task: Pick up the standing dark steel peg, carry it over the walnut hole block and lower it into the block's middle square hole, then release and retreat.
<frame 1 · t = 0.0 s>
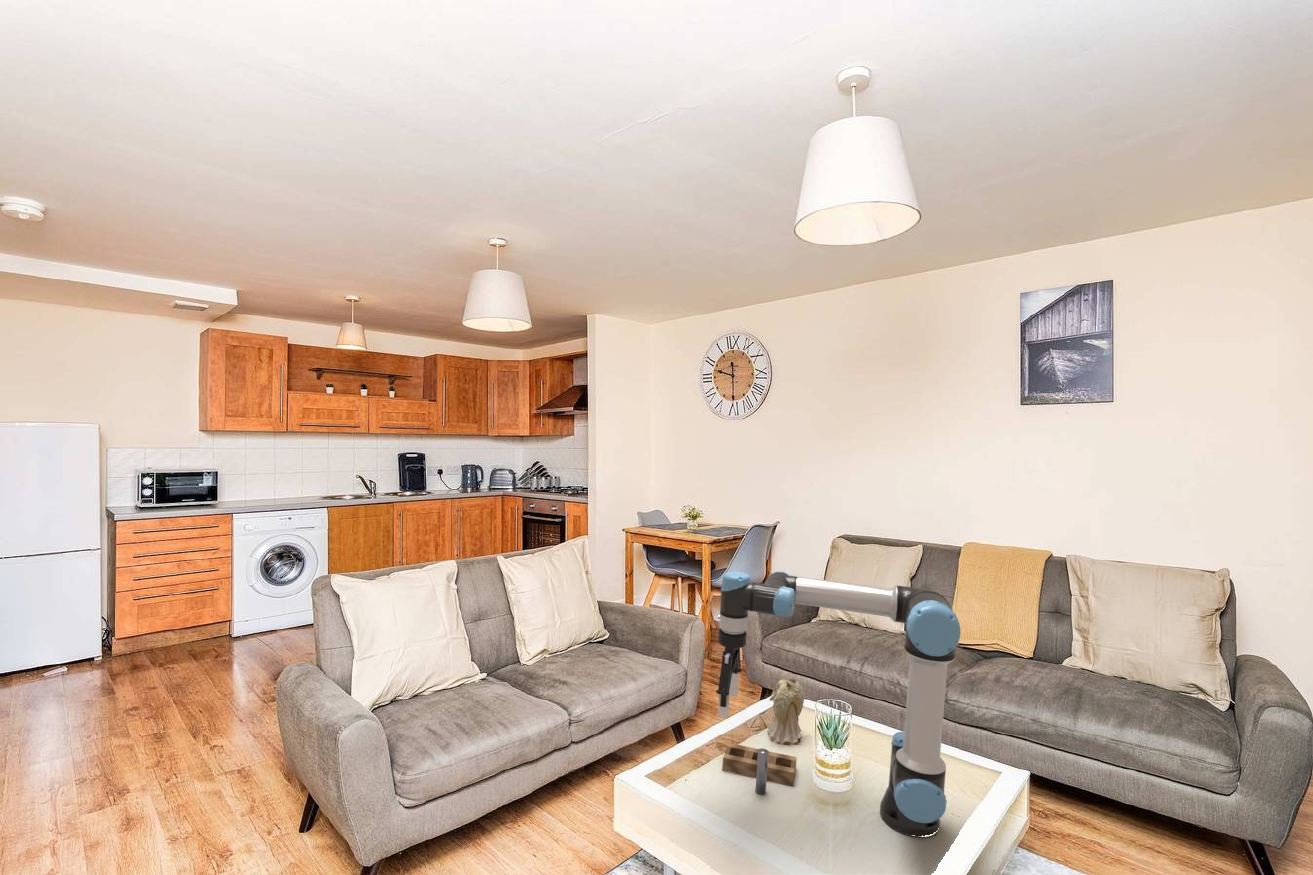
hand: (728, 706, 176), 28 cm above the table, fingers open, 13 cm apart
hole block: (759, 769, 195), on the table
figurine: (784, 737, 216), on the table
peg: (760, 791, 184), on the table
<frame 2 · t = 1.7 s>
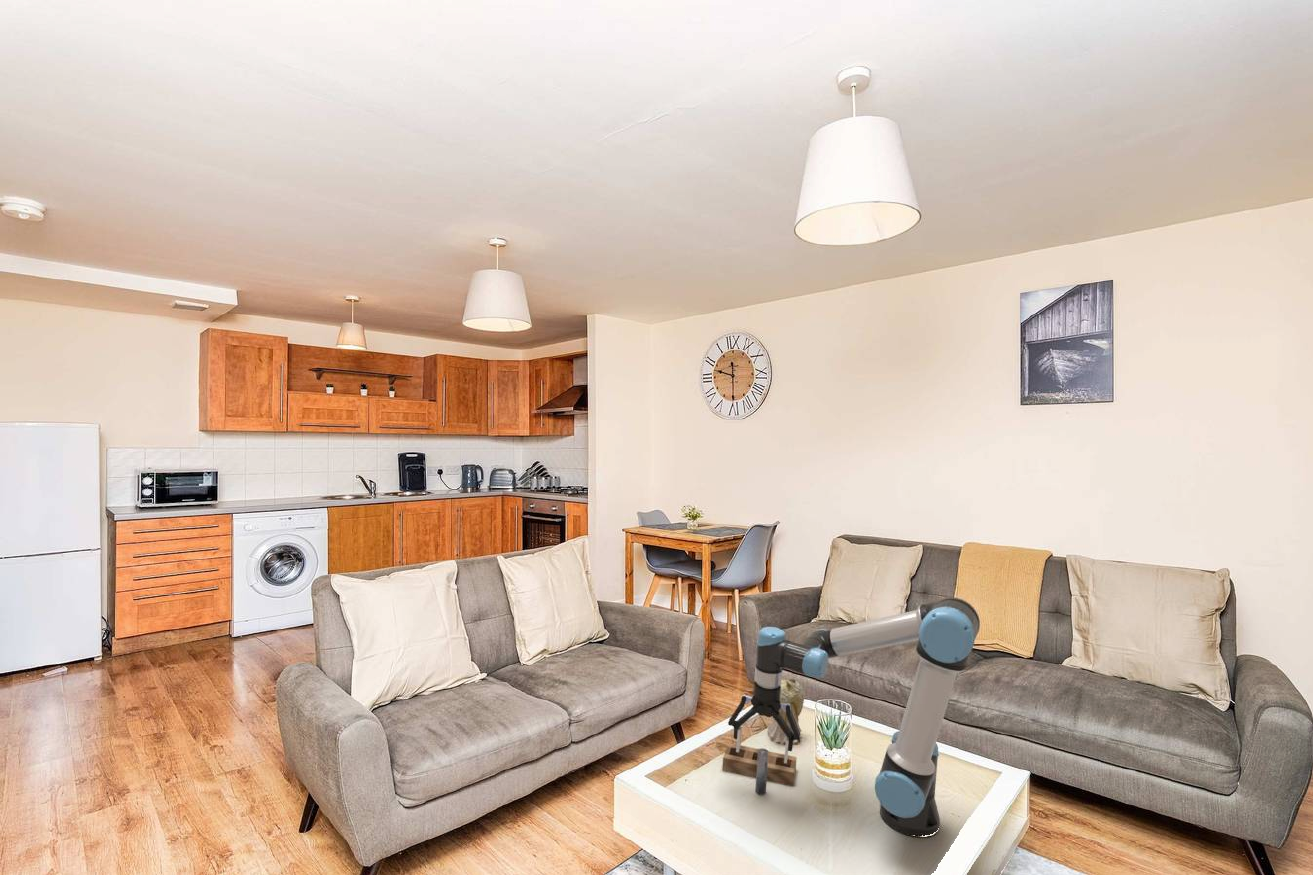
hand: (761, 755, 184), 11 cm above the table, fingers open, 13 cm apart
nothing on the table moved.
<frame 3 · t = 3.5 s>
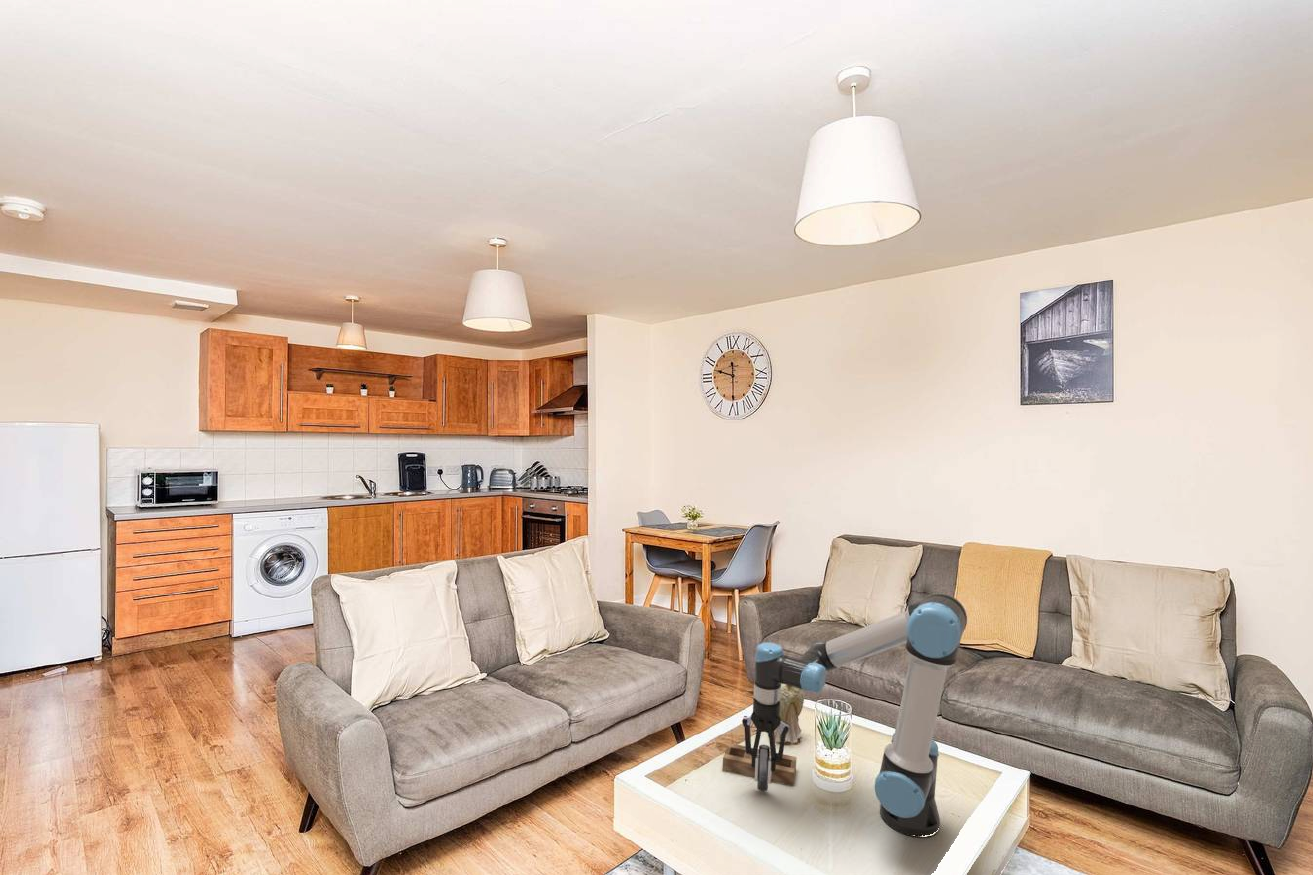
hand: (762, 779, 184), 4 cm above the table, fingers closed on peg, 3 cm apart
peg: (762, 788, 184), point 1 cm above the table, touching gripper
everything else where it was.
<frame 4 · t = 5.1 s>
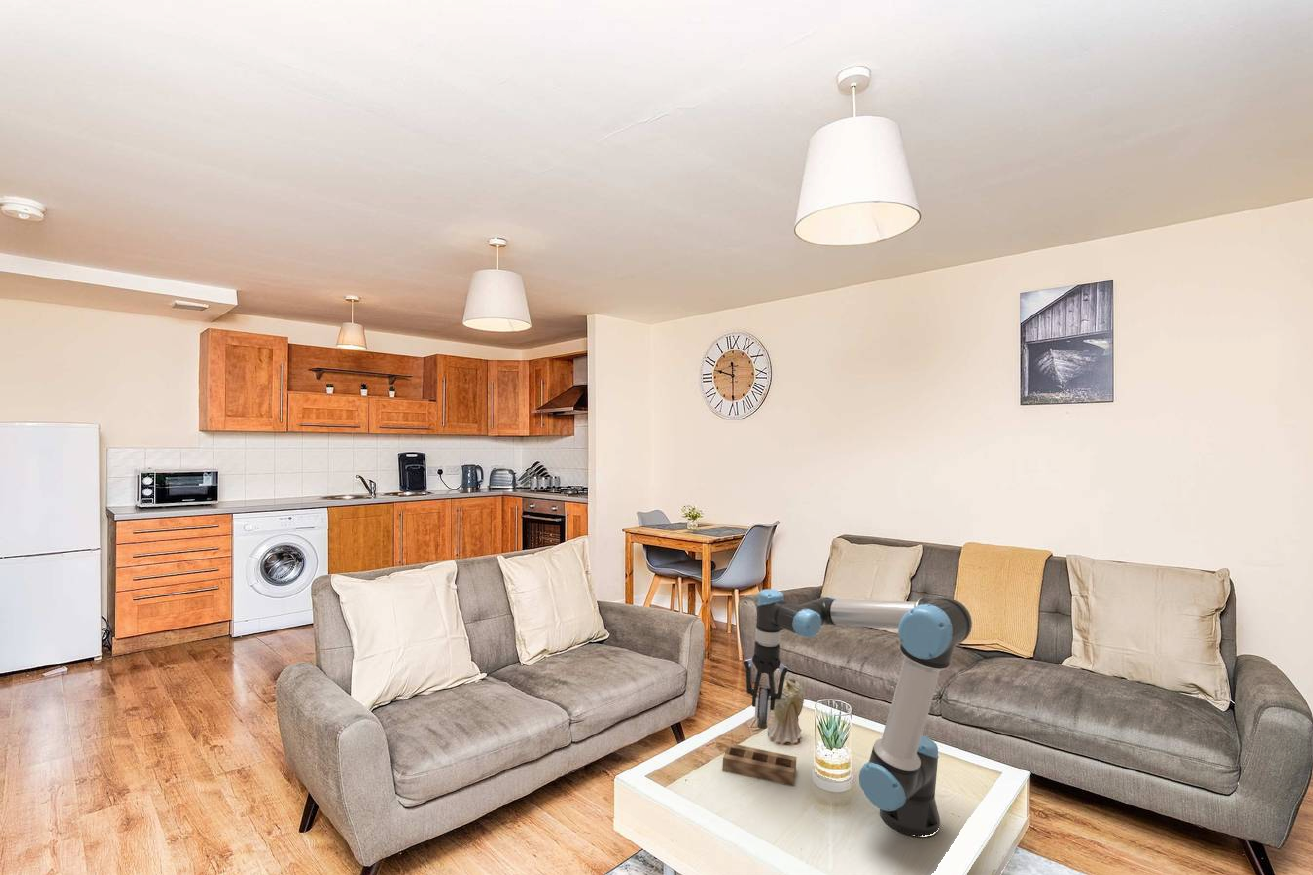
hand: (762, 718, 195), 16 cm above the table, fingers closed on peg, 3 cm apart
peg: (761, 726, 195), point 14 cm above the table, touching gripper
everything else where it was.
when the fingers open (6 cm above the table, at t = 7.1 s): peg drops 2 cm, resting in hole block.
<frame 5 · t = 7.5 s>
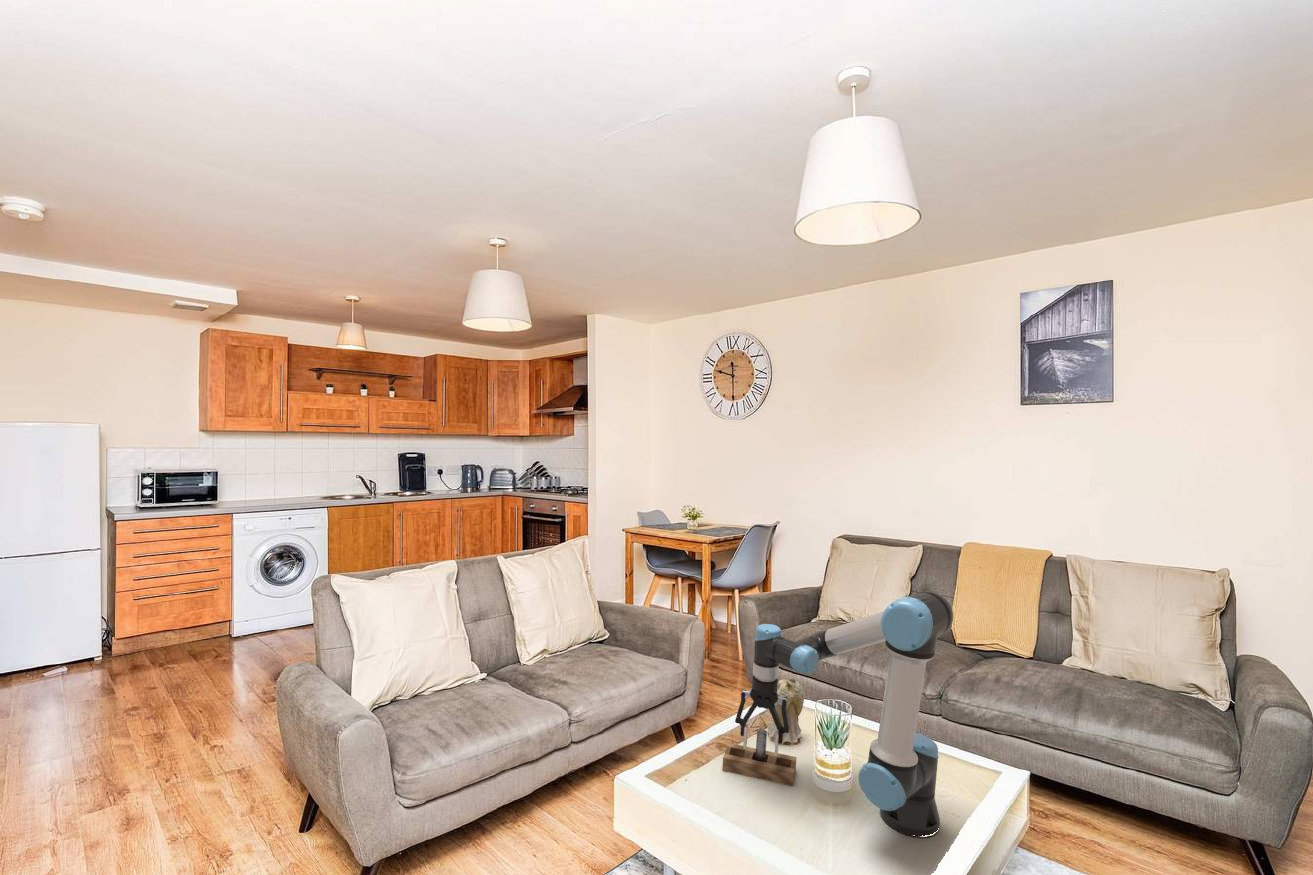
hand: (760, 749, 195), 6 cm above the table, fingers open, 9 cm apart
peg: (759, 770, 195), resting in hole block
everything else where it was.
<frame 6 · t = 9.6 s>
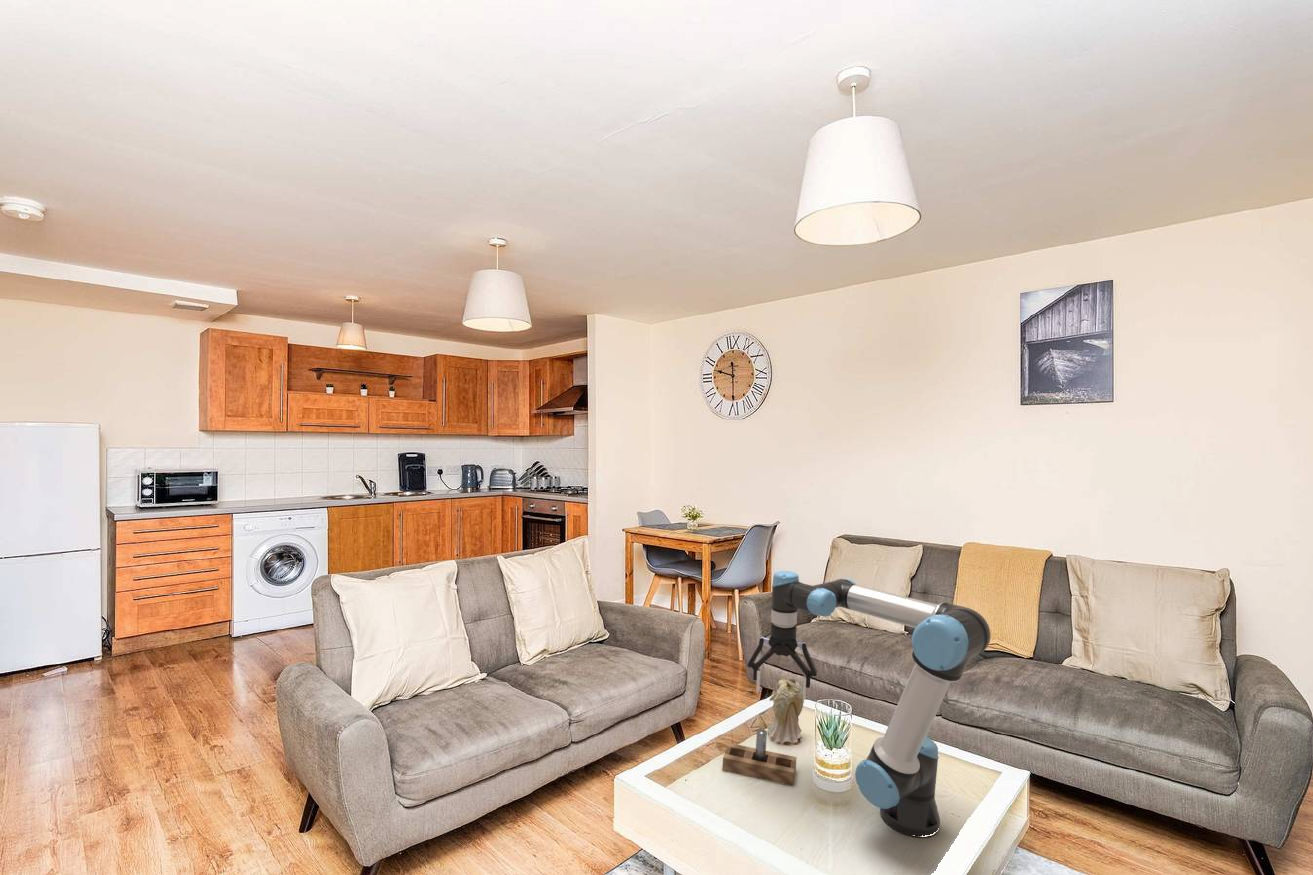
hand: (780, 694, 193), 24 cm above the table, fingers open, 13 cm apart
nothing on the table moved.
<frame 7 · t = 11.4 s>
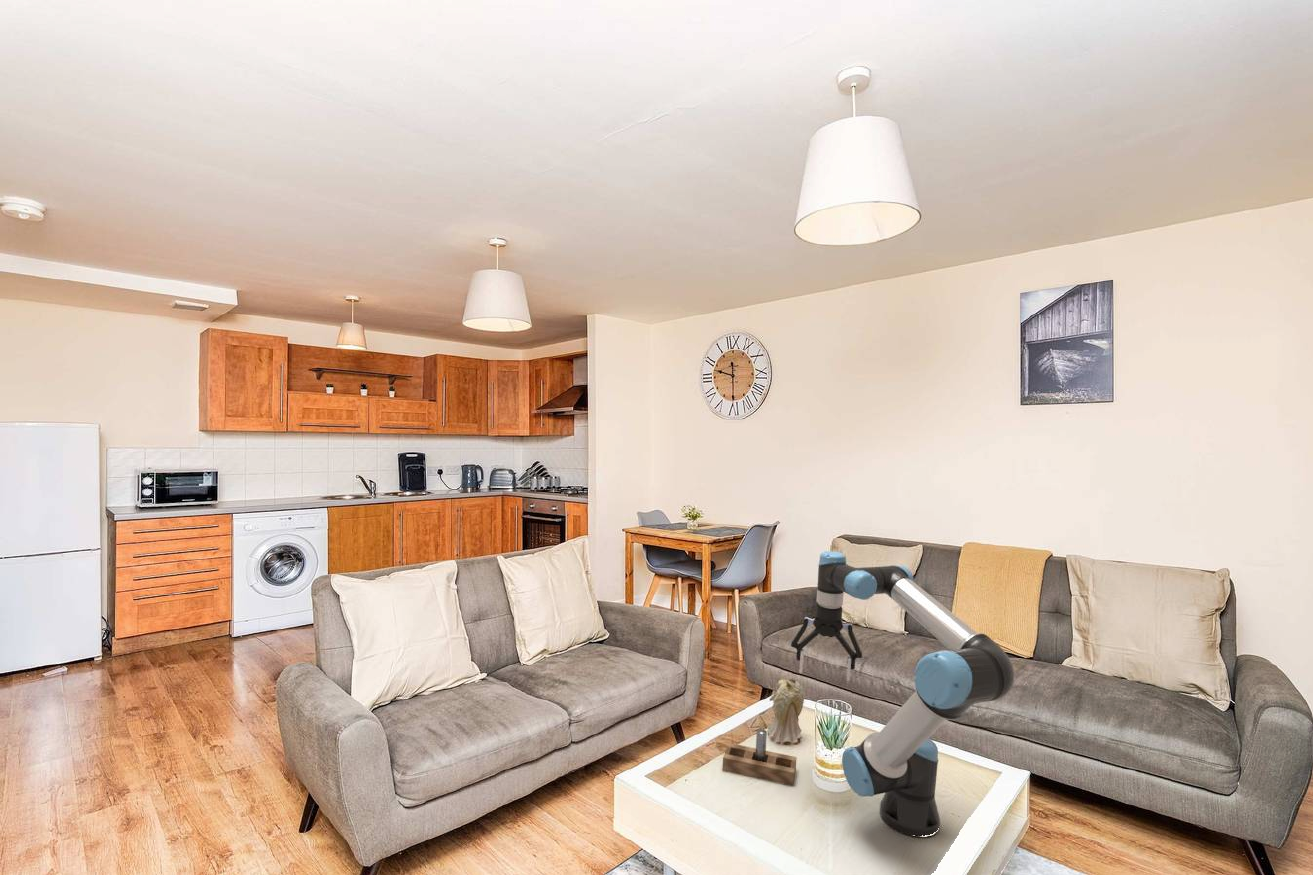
hand: (824, 675, 191), 32 cm above the table, fingers open, 13 cm apart
nothing on the table moved.
at the end: peg 0.1 cm off-centre on the hole block, point 0.0 cm above the hole block's base; peg tilted 0°; the gripper is holding nothing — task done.
